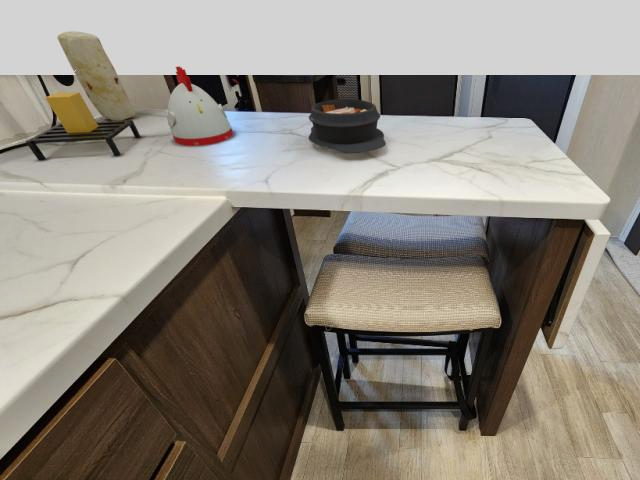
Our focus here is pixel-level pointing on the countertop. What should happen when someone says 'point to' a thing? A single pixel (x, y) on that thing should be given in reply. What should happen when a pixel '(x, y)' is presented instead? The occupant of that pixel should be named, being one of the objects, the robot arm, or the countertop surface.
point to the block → (72, 112)
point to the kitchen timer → (195, 115)
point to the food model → (96, 74)
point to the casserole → (346, 126)
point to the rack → (82, 136)
